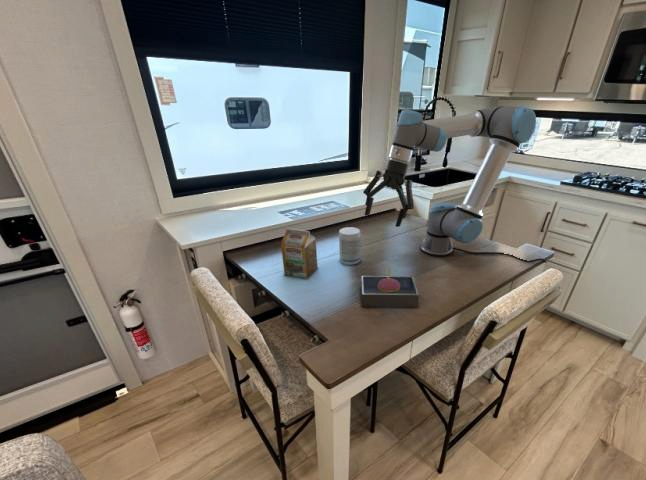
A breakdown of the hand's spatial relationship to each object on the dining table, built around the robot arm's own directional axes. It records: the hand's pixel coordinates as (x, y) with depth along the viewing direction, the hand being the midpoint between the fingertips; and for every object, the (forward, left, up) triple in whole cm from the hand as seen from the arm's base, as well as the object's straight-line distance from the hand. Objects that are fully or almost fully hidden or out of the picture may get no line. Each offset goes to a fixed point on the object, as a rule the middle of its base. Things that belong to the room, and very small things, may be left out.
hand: (381, 220), depth 121 cm
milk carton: (+33, -5, -25) cm, 42 cm away
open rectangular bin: (-3, +15, -25) cm, 29 cm away
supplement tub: (+12, -16, -25) cm, 33 cm away
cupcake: (-3, +15, -25) cm, 29 cm away
